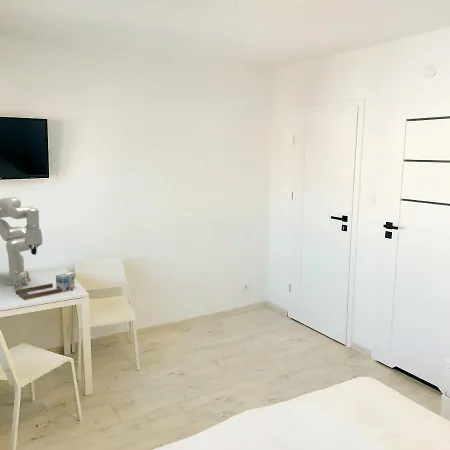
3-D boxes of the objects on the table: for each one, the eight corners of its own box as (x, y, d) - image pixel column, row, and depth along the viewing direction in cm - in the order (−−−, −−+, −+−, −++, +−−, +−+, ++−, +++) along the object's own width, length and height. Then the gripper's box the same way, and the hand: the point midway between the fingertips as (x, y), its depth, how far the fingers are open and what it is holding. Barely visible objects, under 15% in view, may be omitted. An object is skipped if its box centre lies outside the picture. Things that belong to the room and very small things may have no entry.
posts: (59, 284, 319) (59, 279, 319) (62, 284, 321) (62, 278, 320) (71, 290, 306) (70, 285, 306) (74, 290, 308) (73, 284, 307)
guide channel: (15, 293, 298) (15, 290, 298) (52, 286, 314) (51, 283, 314) (24, 299, 287) (24, 295, 287) (61, 292, 303) (61, 288, 303)
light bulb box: (63, 292, 304) (62, 276, 302) (56, 290, 306) (55, 275, 305) (75, 287, 313) (74, 272, 311) (67, 286, 316) (67, 271, 314)
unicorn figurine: (9, 292, 302) (8, 272, 300) (20, 283, 321) (19, 264, 319) (20, 292, 302) (19, 272, 300) (31, 283, 322) (30, 264, 319)
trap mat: (16, 294, 297) (16, 294, 297) (26, 292, 301) (26, 292, 301) (23, 299, 288) (23, 298, 288) (33, 297, 292) (33, 296, 292)
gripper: (23, 229, 293) (24, 257, 296) (46, 227, 303) (47, 253, 307) (19, 227, 298) (20, 254, 302) (42, 225, 308) (42, 251, 312)
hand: (33, 254), depth 304 cm, fingers closed
